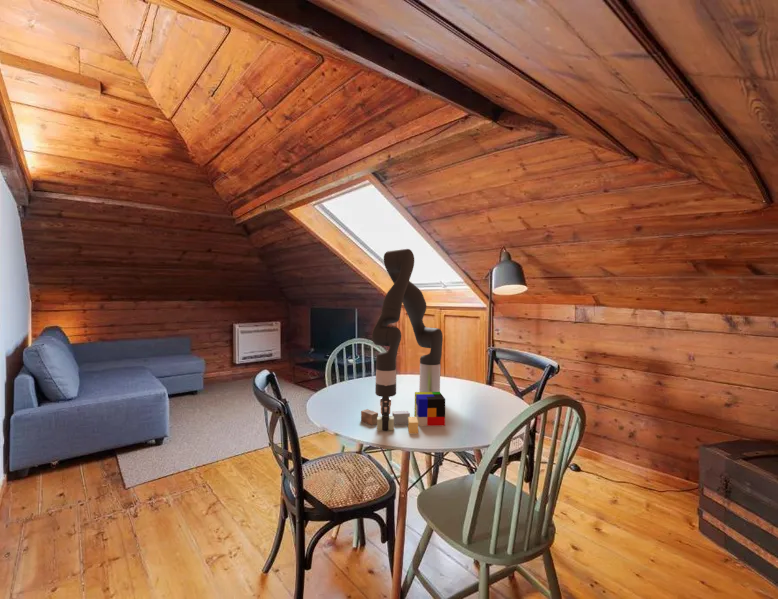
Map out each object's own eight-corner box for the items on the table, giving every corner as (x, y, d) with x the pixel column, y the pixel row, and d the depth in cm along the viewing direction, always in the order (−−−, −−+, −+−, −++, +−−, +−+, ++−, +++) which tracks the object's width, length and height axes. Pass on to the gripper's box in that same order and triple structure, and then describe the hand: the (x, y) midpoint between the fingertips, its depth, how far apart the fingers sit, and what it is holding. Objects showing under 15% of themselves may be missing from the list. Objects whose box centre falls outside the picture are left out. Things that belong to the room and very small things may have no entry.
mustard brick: (407, 427, 145) (408, 416, 145) (416, 427, 145) (416, 416, 145) (408, 433, 139) (409, 422, 139) (417, 433, 139) (418, 422, 139)
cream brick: (377, 430, 141) (377, 419, 141) (377, 427, 145) (377, 416, 144) (394, 430, 141) (393, 419, 141) (393, 427, 145) (393, 416, 144)
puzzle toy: (418, 425, 147) (418, 399, 146) (414, 416, 157) (414, 392, 156) (444, 425, 148) (445, 399, 147) (439, 416, 157) (439, 391, 157)
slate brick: (394, 424, 148) (394, 414, 148) (392, 421, 151) (392, 411, 151) (409, 423, 149) (409, 413, 149) (407, 420, 152) (407, 410, 152)
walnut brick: (361, 421, 151) (361, 411, 151) (367, 419, 153) (367, 409, 153) (371, 425, 147) (371, 414, 146) (377, 423, 149) (378, 412, 149)
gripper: (376, 376, 149) (375, 421, 150) (375, 386, 135) (374, 436, 136) (395, 377, 149) (395, 422, 150) (396, 386, 135) (396, 436, 136)
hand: (385, 428), depth 143 cm, fingers closed on cream brick, 3 cm apart
